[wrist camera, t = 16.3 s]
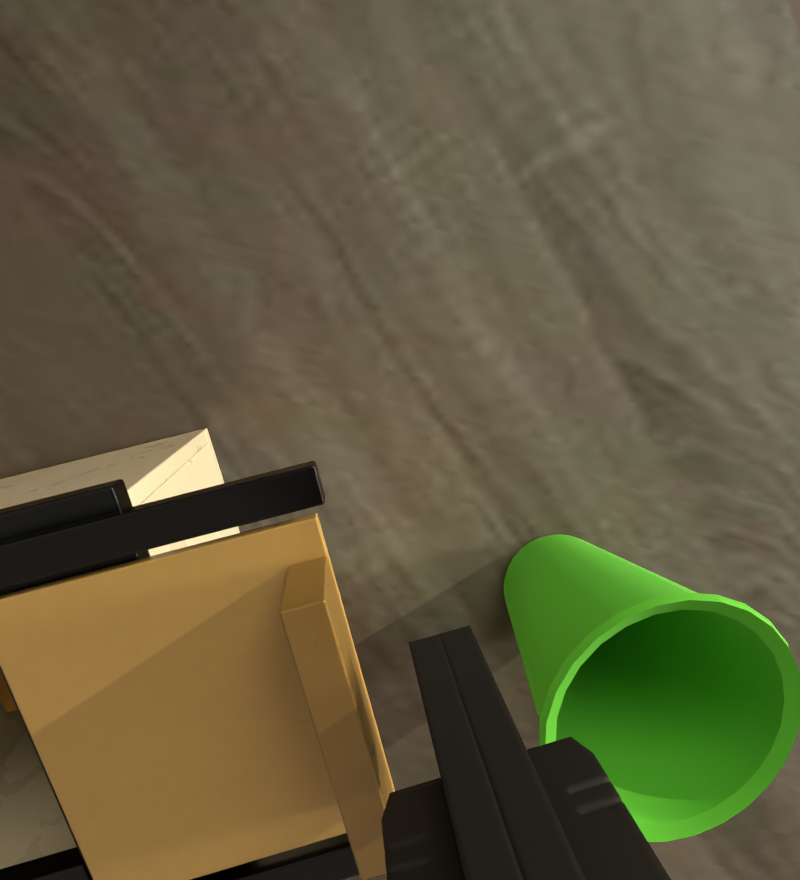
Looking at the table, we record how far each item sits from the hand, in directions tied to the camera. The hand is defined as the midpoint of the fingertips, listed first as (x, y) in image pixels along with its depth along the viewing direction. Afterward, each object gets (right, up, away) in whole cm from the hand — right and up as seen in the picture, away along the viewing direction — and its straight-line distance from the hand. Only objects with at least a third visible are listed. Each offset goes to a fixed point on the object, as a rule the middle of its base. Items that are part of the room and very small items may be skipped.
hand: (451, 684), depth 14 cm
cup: (+6, -1, +16) cm, 17 cm away
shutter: (-6, -1, +1) cm, 7 cm away
